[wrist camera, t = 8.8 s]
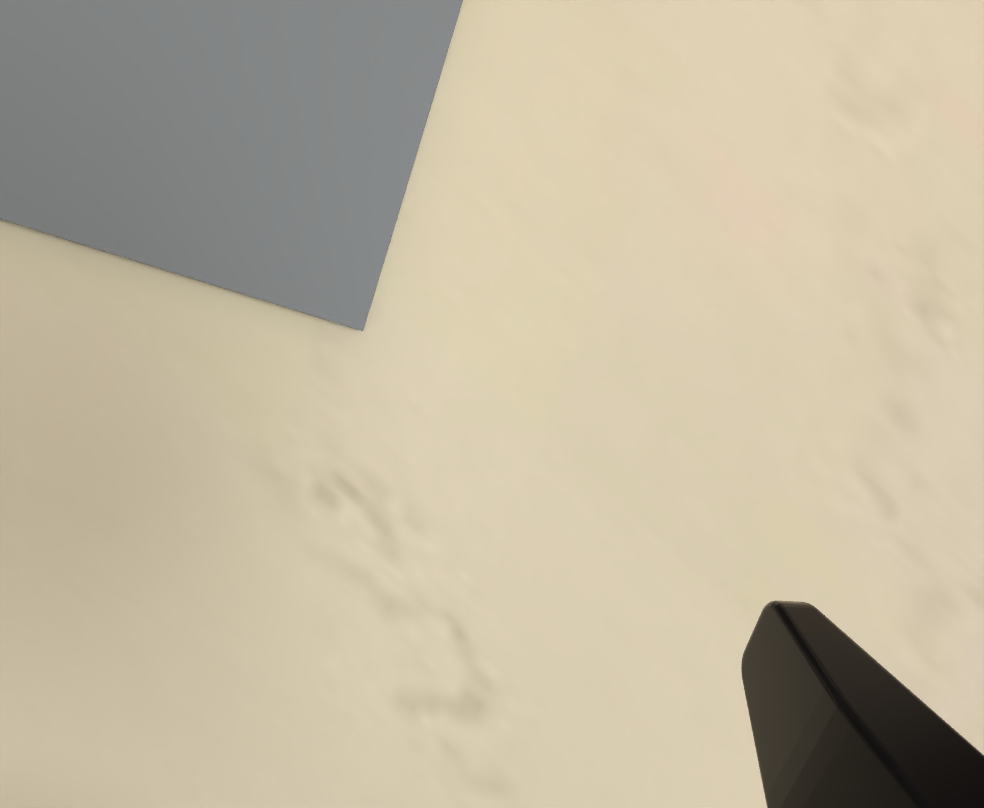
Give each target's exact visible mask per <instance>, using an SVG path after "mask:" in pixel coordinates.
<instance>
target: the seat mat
mask: <svg viewBox="0 0 984 808" xmlns="http://www.w3.org/2000/svg"><path fill="white" fill-rule="evenodd" d="M462 2H463V0H0V219H2V220H5V221H9V222H12V223H15V224H18V225H21V226H25V227H28V228H31V229H34V230H38V231H41V232H44V233H47V234H51V235H54V236H57V237H60V238H64V239H67V240H70V241H73V242H76V243H80V244H83V245H86V246H89V247H93V248H96V249H99V250H102V251H106V252H109V253H112V254H115V255H119V256H122V257H125V258H128V259H131V260H135V261H138V262H141V263H144V264H148V265H151V266H154V267H157V268H161V269H164V270H167V271H170V272H174V273H177V274H180V275H183V276H186V277H190V278H193V279H196V280H199V281H203V282H206V283H209V284H212V285H216V286H219V287H222V288H225V289H228V290H232V291H235V292H238V293H241V294H245V295H248V296H251V297H254V298H258V299H261V300H264V301H267V302H271V303H274V304H277V305H280V306H283V307H287V308H290V309H293V310H296V311H300V312H303V313H306V314H309V315H313V316H316V317H319V318H322V319H326V320H329V321H332V322H335V323H338V324H342V325H345V326H348V327H351V328H355V329H358V330H361V331H363V330H364V326H365V323H366V320H367V316H368V313H369V310H370V306H371V303H372V300H373V296H374V293H375V290H376V286H377V283H378V280H379V277H380V273H381V270H382V267H383V263H384V260H385V257H386V253H387V250H388V247H389V243H390V240H391V237H392V234H393V230H394V227H395V224H396V220H397V217H398V214H399V210H400V207H401V204H402V200H403V197H404V194H405V191H406V187H407V184H408V181H409V177H410V174H411V171H412V167H413V164H414V161H415V157H416V154H417V151H418V147H419V144H420V141H421V138H422V134H423V131H424V128H425V124H426V121H427V118H428V114H429V111H430V108H431V104H432V101H433V98H434V95H435V91H436V88H437V85H438V81H439V78H440V75H441V71H442V68H443V65H444V61H445V58H446V55H447V52H448V48H449V45H450V42H451V38H452V35H453V32H454V28H455V25H456V22H457V18H458V15H459V12H460V8H461V5H462Z"/></svg>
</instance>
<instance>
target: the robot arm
mask: <svg viewBox="0 0 984 808" xmlns="http://www.w3.org/2000/svg"><path fill="white" fill-rule="evenodd" d="M741 668H742V679H743V684H744V690H745V695H746V700H747V705H748V710H749V716H750V721H751V726H752V731H753V736H754V741H755V747H756V752H757V757H758V762H759V767H760V772H761V778H762V783H763V788H764V793H765V798H766V803H767V807H768V808H984V755H983V754H982V753H980V752H979V751H978V750H977V749H976V748H975V747H974V746H972V745H971V744H970V743H969V742H968V741H967V740H966V739H965V738H963V737H962V736H961V735H960V734H959V733H958V732H957V731H955V730H954V729H953V728H952V727H951V726H950V725H949V724H947V723H946V722H945V721H944V720H943V719H942V718H941V717H940V716H938V715H937V714H936V713H935V712H934V711H933V710H932V709H930V708H929V707H928V706H927V705H926V704H925V703H924V702H922V701H921V700H920V699H919V698H918V697H917V696H916V695H914V694H913V693H912V692H911V691H910V690H909V689H908V688H907V687H905V686H904V685H903V684H902V683H901V682H900V681H899V680H897V679H896V678H895V677H894V676H893V675H892V674H891V673H889V672H888V671H887V670H886V669H885V668H884V667H883V666H882V665H880V664H879V663H878V662H877V661H876V660H875V659H874V658H872V657H871V656H870V655H869V654H868V653H867V652H866V651H864V650H863V649H862V648H861V647H860V646H859V645H858V644H857V643H855V642H854V641H853V640H852V639H851V638H850V637H849V636H847V635H846V634H845V633H844V632H843V631H842V630H841V629H839V628H838V627H837V626H836V625H835V624H834V623H833V622H831V621H830V620H829V619H828V618H827V617H826V616H825V615H824V614H822V613H821V612H820V611H819V610H818V609H817V608H815V607H814V606H812V605H811V604H809V603H805V602H792V601H772V602H770V603H768V604H767V605H766V606H765V607H764V609H763V611H762V613H761V615H760V617H759V619H758V622H757V624H756V626H755V628H754V631H753V633H752V635H751V637H750V640H749V642H748V644H747V646H746V649H745V651H744V654H743V658H742V667H741Z"/></svg>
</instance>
